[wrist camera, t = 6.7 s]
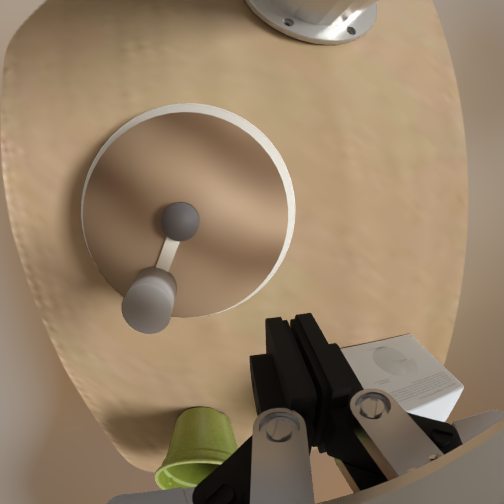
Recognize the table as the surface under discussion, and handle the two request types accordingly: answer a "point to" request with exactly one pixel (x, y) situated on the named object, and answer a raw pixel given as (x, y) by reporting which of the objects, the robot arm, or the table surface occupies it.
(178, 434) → the plant pot
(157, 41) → the table surface
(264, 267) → the dial
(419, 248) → the table surface
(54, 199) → the table surface
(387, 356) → the skincare box
